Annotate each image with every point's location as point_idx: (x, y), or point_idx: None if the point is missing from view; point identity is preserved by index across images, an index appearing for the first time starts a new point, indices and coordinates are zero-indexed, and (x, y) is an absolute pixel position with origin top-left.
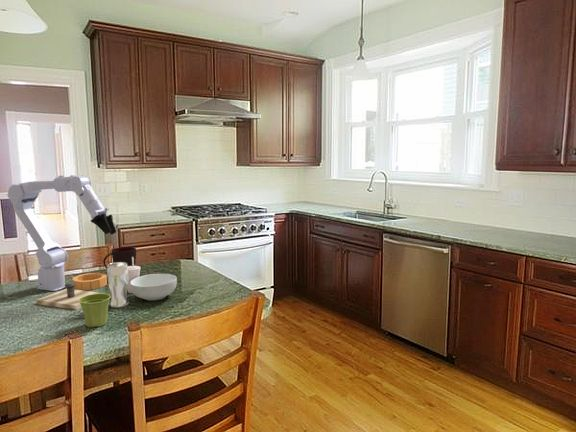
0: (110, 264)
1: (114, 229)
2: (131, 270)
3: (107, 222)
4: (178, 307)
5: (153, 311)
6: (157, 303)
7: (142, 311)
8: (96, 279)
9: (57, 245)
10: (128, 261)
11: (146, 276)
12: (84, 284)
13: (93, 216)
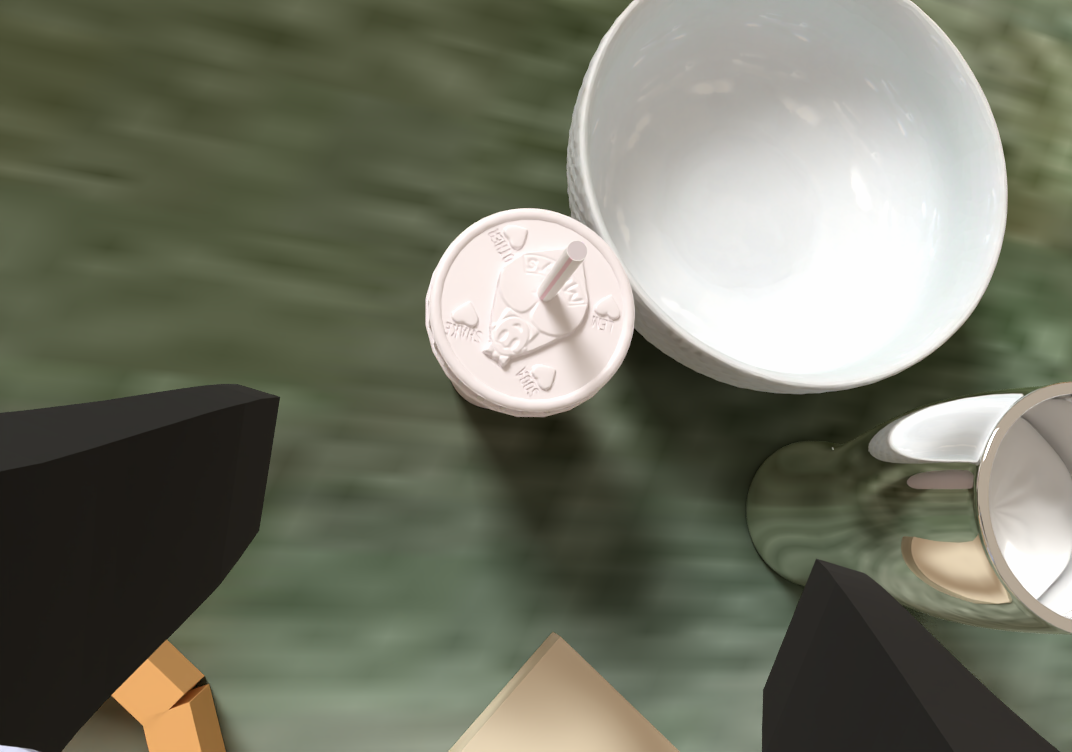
0: (1021, 594)
1: (231, 428)
2: (627, 329)
3: (947, 714)
4: (1020, 118)
5: (1043, 293)
6: None
7: (1019, 365)
8: (160, 728)
9: None
10: None
11: (594, 196)
12: None
13: None
